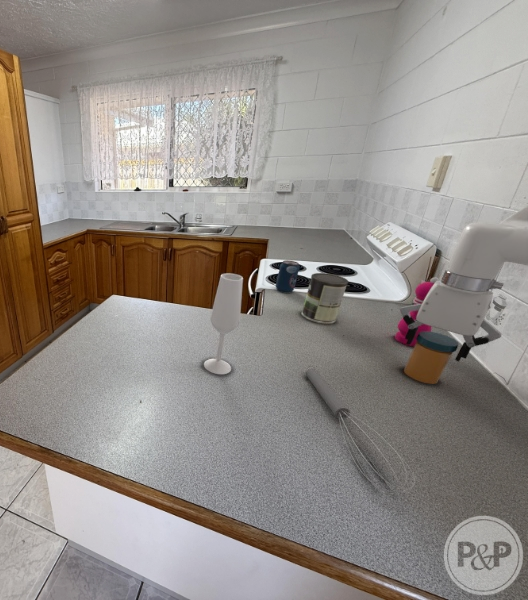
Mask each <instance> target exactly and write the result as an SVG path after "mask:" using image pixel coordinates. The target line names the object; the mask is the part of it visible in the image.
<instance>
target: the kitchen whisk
mask: <svg viewBox="0 0 528 600" xmlns="http://www.w3.org/2000/svg"><path fill="white" fill-rule="evenodd" d="M311 367H312V368H311ZM305 374H306V377H307V378H308V380H309V381H310V382H311V384H312V385H313V387H314V388H315V390H316V391H317V392H318V394H319V395H320V397H321V398H322V400H323V401H324V402H325V404H326V405H327V406H328V408H329V409H330V411H331V412H332V413H333V415H334V416H335V418H337V419H338V421H339V424H340V428H341V433H342V436H343V439H344V442H345V445H346V447H347V450H348V452H349V454H350V456H351V458H352V460H353V461H354V463H355V465H356V466H357V468H358V470H359V471H360V472H361V474H362V475H363V476H364V477H365V478H366V479H367V480H368V481H369V482H370V483H371V484H372V485H373V486H374V487H375V488H376V489H377V490H378V491H380V492H381V493H382V494H386V495H392V496H393V495H396V496H397V497H402V493H404V494H410V493H411V490H412V489H413V487H414V486H415V484H416V480H415V474H414V472H413V471H412V469H411V468H410V466H409V464H408V463H407V462H406V461H405V459H403V457H402V456H401V455H400V454H399V453H398V452H397V450H395V448H393V446H392V445H391V444H390V443H389V442H388V441H387V440H386V439H385V438H384V437H383V436H382V435H380V434H379V433H378V432H377V431H376V430H374V429H373V428H372V427H371V426H369V425H368V424H366V423H365V422H364V421H362V420H361V419H359V418H358V417H356V416H355V415H353V414H351V411H350V409H349V408H348V407H347V406H346V404H344V402H343V401H342V399H341V398H340V397H339V396H338V395H337V393H336V392H335V391H334V389H333V388H332V387H331V385H329V383H328V382H327V381H326V380H325V378H324V377H323V376H322V374H321V373H320V372H319V370H317V369H316V367H315V366H313V365H308V367H307V368H306V370H305ZM352 418H353V419H354V420H356V421H357V422H358V423H360V424H361V425H362V426H364V427H365V428H366V429H368V430H369V431H370V432H371V433H373V434H374V435H375V436H377V437H378V438H379V439H380V440H381V441H382V442H383V443H385V444H386V445H387V446H388V447H389V448H390V449H391V450H392V451H393V452H394V453H395V454H396V455H397V457H398V458H399V460H400V462H401V463H402V465H403V468H404V472H405V478H404V476H403V475H402V474H401V473H400V471H399V470H398V469H397V468H396V467H395V465H394V464H393V463H392V461H390V460H389V458H388V457H387V456H386V455H385V454H384V453H383V452H382V450H381V449H379V447H378V446H377V444H375V443H374V441H373V440H372V439H371V438H370V437H369V436H368V434H367V433H366V432H365V431H364V430H363V429H362V427H360V426H359V425H358V424H357V423H356V422H355V421H354V420H353V419H352ZM346 419H349V420H350V421H351V423H352V424H353V425H354V426H356V428H357V429H358V430H359V431H360V432H361V433H362V435H364V436H365V437H366V438H367V439H368V440H369V441H370V442H371V443H372V444H373V446H374V447H375V448H376V449H377V450H378V452H379V453H380V454H381V456H382V457H383V459H384V460H385V461H386V463H387V465H388V466H389V468H390V469H391V472H392V473H393V475H394V477H395V479H396V481H397V484H398V487H396V486H394V485H393V484H391V483H390V482H389V481H387V480H386V479H385V478H384V476H383V475H382V474H381V472H380V471H379V470H378V468H377V467H376V465H375V464H374V463H373V461H372V460H371V458H370V457H369V455H368V453H367V452H366V450H365V449H364V447H363V445H362V444H361V443H360V441H359V439H358V438H357V436H356V434H355V433H354V431H353V429H352V428H351V426H350V424H349V423H348V421H347V420H346ZM345 423H346V424H347V425H346V424H345ZM347 426H348V427H347ZM348 428H349V429H350V431H351V433H352V434H353V436H354V438H355V439H356V440H357V442H358V444H359V445H360V447H361V448H362V450H363V452H364V453H365V455H366V456H367V458H368V459H369V461H370V462H371V463H370V462H369V461H368V460H367V459H366V457H365V455H364V454H363V452H361V450H360V448H359V447H358V446H357V444H356V442H355V440H354V439H353V437H352V436H351V433H350V431H349V429H348ZM344 433H345V434H344ZM345 435H346V437H345ZM348 435H349V436H348ZM349 437H350V439H351V441H352V443H353V444H354V445H355V447H356V449H357V450H358V451H359V454H360V455H361V456H362V458H363V459H364V460H365V461H366V463H367V464H368V465H369V467H370V468H371V469H372V470H373V471H374V472H375V473H376V474H377V475H378V476H379V477H380V478H381V479H382V480H383V481H384V482H385V484H386V485H387V486H388V487H389V488H390V490H389V489H387V488H383V487H381V486H379V485H377V484H376V483H374V482H373V481H372V480H371V479H370V478H369V476H368V474H367V473H366V472H365V470H364V467H363V466H362V465H361V462H360V461H359V459H358V457H357V455H356V453H355V450H354V448H353V446H352V444H351V441H350V439H349ZM346 438H347V439H346ZM347 441H348V443H349V445H348V443H347ZM349 446H350V448H351V450H350V448H349ZM351 451H352V452H351ZM352 453H353V455H352ZM354 457H355V458H354ZM355 459H356V460H355ZM356 461H357V462H356ZM371 464H372V465H373V466H372V465H371ZM405 465H406V466H407V468H408V470H409V471H410V473H411V474H412V479H413V483H412V485H411V487H410V486H409V484H408V482H407V481H408V480H407V479H408V471H407V468H406V466H405ZM359 466H360V467H359ZM392 467H393V468H394V469H395V471H396V472H397V473H398V474H399V476H400V477H401V478H402V480H403V481H404V483H403V485H402V486H401V484H400V481H399V479H398V477H397V475H396V473H395V471H394V469H393V468H392ZM405 485H406V486H407V489H404V487H405ZM394 489H396V490H394ZM403 489H404V490H403ZM385 491H386V492H385ZM407 491H408V492H407ZM398 493H399V494H398Z"/></svg>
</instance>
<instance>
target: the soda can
mask: <svg viewBox="0 0 528 600" xmlns="http://www.w3.org/2000/svg"><path fill="white" fill-rule="evenodd" d="M299 265H300V264H299V262H298V261H294V260H288V259H287V260H285V259H284V260H283V261H282V263H281V264H280V265H279V269H278V273H277V278H276V283H275V288H276V291H278V292H280V293H283V294H290V293H293V291H294V290H295V287H296V283H297V279H298V276H299V272H300V266H299Z"/></svg>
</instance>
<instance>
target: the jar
mask: <svg viewBox="0 0 528 600" xmlns="http://www.w3.org/2000/svg"><path fill="white" fill-rule="evenodd" d="M453 354H454V352H450V353H448V352H441V351H436V350H433V349H430V348H428V347H425V346H423V345H421V344H420V343H419V342H418V341H417V342H416V344H415V346H413V348H412V351H411V353H410V356H409V357H408V359H407V362H406V364H405V366H404V369H403V373H404V374H405V375H407V376H408V377H410V378H411V379H413V380H415V381H417V382H421V383H424V384H429V385H434V384H438V382H439V380H440V379H441V377H442V375H443V373H444V370H445V368H446V367H447V365H448V363H449V361H450V359H451V357H452V355H453Z"/></svg>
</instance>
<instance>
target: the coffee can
mask: <svg viewBox="0 0 528 600" xmlns="http://www.w3.org/2000/svg"><path fill="white" fill-rule="evenodd" d="M309 281H310V282H309V285H308V288H307V292H306V295H305V296H306V297H305V300H304V303H303V307H302V311H301V316H302V317H303V318H305V319H307V320H308V321H310V322H313V323H318V324H325V325H326V324H327V325H328V324H334V323H335V322H336V321H337V318H338V317H337V316H338V314H339V310H340V307H341V304H342V301H343V298H344V295H345V292H346V289H347V286H348V285H349V279H347V278H345V277H343V276H340V275H337V274H333V273H327V272H315V273H312V274H311V276H310V280H309Z"/></svg>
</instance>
